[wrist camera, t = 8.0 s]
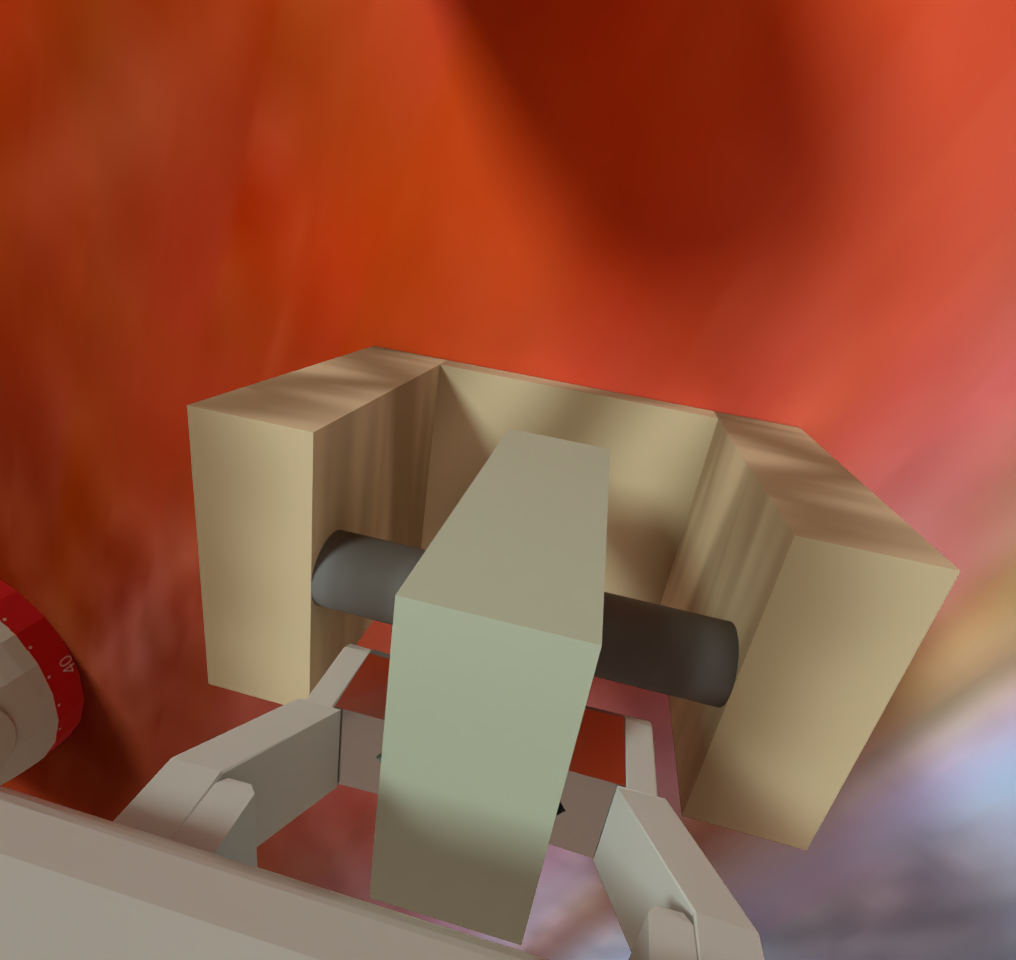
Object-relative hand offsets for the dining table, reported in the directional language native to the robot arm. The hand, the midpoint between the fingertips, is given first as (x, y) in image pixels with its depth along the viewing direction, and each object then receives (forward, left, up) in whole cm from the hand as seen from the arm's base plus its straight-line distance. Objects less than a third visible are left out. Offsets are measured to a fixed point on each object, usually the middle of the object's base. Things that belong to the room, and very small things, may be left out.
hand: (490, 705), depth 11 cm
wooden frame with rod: (0, 0, -12) cm, 12 cm away
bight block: (0, 0, -7) cm, 7 cm away
